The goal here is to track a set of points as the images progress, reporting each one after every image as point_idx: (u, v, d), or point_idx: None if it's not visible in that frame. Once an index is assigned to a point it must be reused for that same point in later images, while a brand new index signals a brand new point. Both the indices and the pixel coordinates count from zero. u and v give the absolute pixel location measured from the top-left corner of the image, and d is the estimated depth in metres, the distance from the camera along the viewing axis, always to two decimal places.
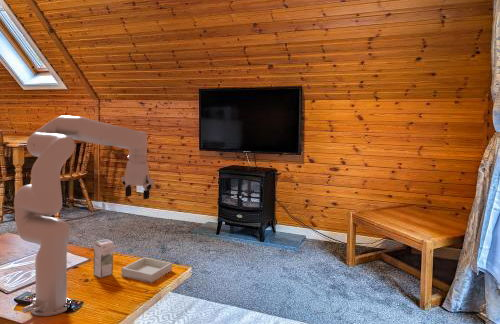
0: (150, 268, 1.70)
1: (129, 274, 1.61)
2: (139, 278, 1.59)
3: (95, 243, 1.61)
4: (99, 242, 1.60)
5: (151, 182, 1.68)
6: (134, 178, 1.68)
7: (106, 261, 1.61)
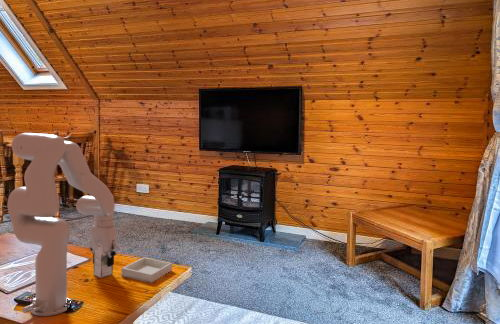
0: (150, 268, 1.70)
1: (129, 274, 1.61)
2: (139, 278, 1.59)
3: None
4: None
5: (116, 250, 1.59)
6: (100, 243, 1.59)
7: (106, 261, 1.61)
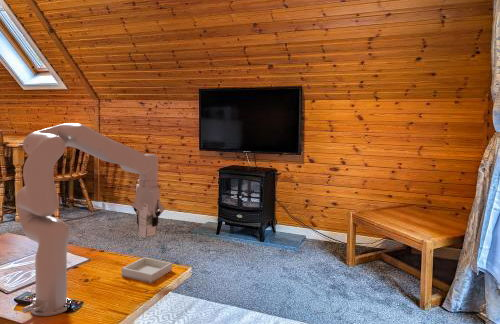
0: (150, 268, 1.70)
1: (129, 274, 1.61)
2: (139, 278, 1.59)
3: None
4: None
5: (161, 209, 1.61)
6: (145, 203, 1.61)
7: (151, 221, 1.63)
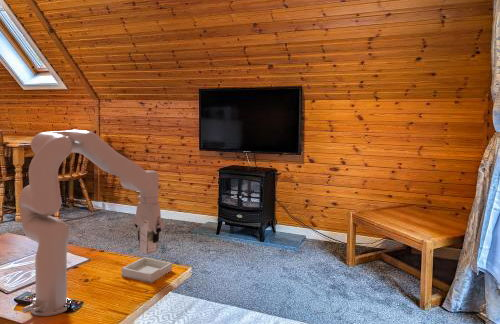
0: (150, 268, 1.70)
1: (129, 274, 1.61)
2: (139, 278, 1.59)
3: None
4: None
5: (161, 226, 1.61)
6: (146, 219, 1.62)
7: (152, 237, 1.63)
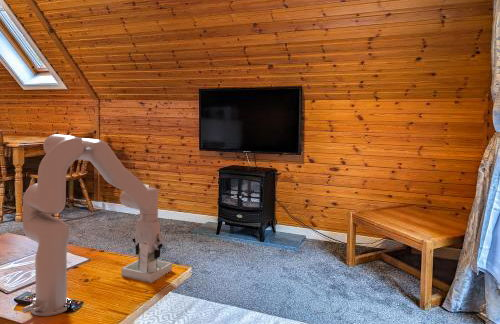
0: None
1: (129, 274, 1.61)
2: (139, 278, 1.59)
3: None
4: None
5: (162, 241, 1.62)
6: (145, 237, 1.62)
7: (152, 258, 1.64)
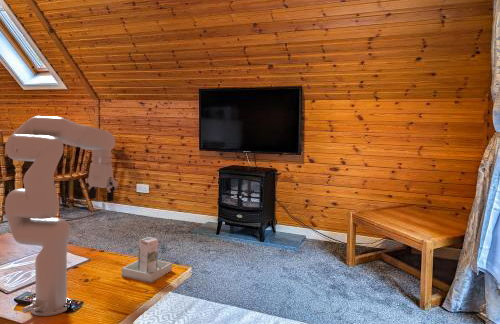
0: None
1: (129, 274, 1.61)
2: (139, 278, 1.59)
3: (140, 241, 1.64)
4: (145, 240, 1.64)
5: (114, 184, 1.64)
6: (98, 179, 1.64)
7: (152, 258, 1.64)
